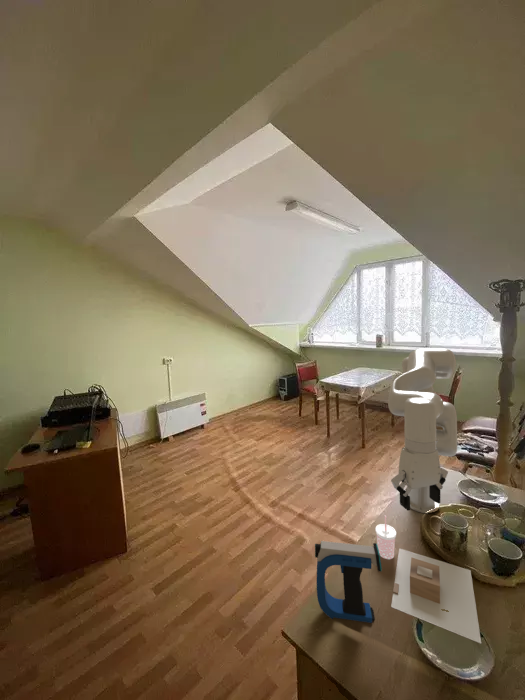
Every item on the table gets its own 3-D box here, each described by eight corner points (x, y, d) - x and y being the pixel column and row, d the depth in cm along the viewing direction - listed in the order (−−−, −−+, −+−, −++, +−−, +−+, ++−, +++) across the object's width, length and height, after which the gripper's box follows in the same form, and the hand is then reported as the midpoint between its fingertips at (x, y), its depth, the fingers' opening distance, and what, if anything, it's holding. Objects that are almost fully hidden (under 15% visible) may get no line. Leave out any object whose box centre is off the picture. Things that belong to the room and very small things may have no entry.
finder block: (411, 572, 86) (411, 556, 85) (439, 582, 82) (439, 565, 82) (409, 592, 80) (409, 574, 79) (439, 603, 76) (439, 585, 76)
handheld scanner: (383, 630, 72) (382, 555, 70) (317, 620, 75) (314, 548, 74) (380, 612, 76) (378, 541, 75) (317, 603, 80) (314, 535, 78)
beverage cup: (374, 547, 97) (374, 508, 96) (394, 550, 96) (394, 510, 94) (376, 562, 92) (376, 521, 90) (398, 566, 90) (397, 523, 88)
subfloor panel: (390, 548, 97) (390, 544, 96) (481, 577, 85) (481, 572, 84) (380, 606, 78) (380, 601, 78) (495, 654, 66) (495, 647, 66)
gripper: (435, 434, 85) (435, 491, 86) (383, 443, 81) (383, 502, 82) (458, 445, 77) (457, 506, 79) (402, 454, 73) (402, 519, 75)
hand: (420, 504), depth 81 cm, fingers open, 9 cm apart
